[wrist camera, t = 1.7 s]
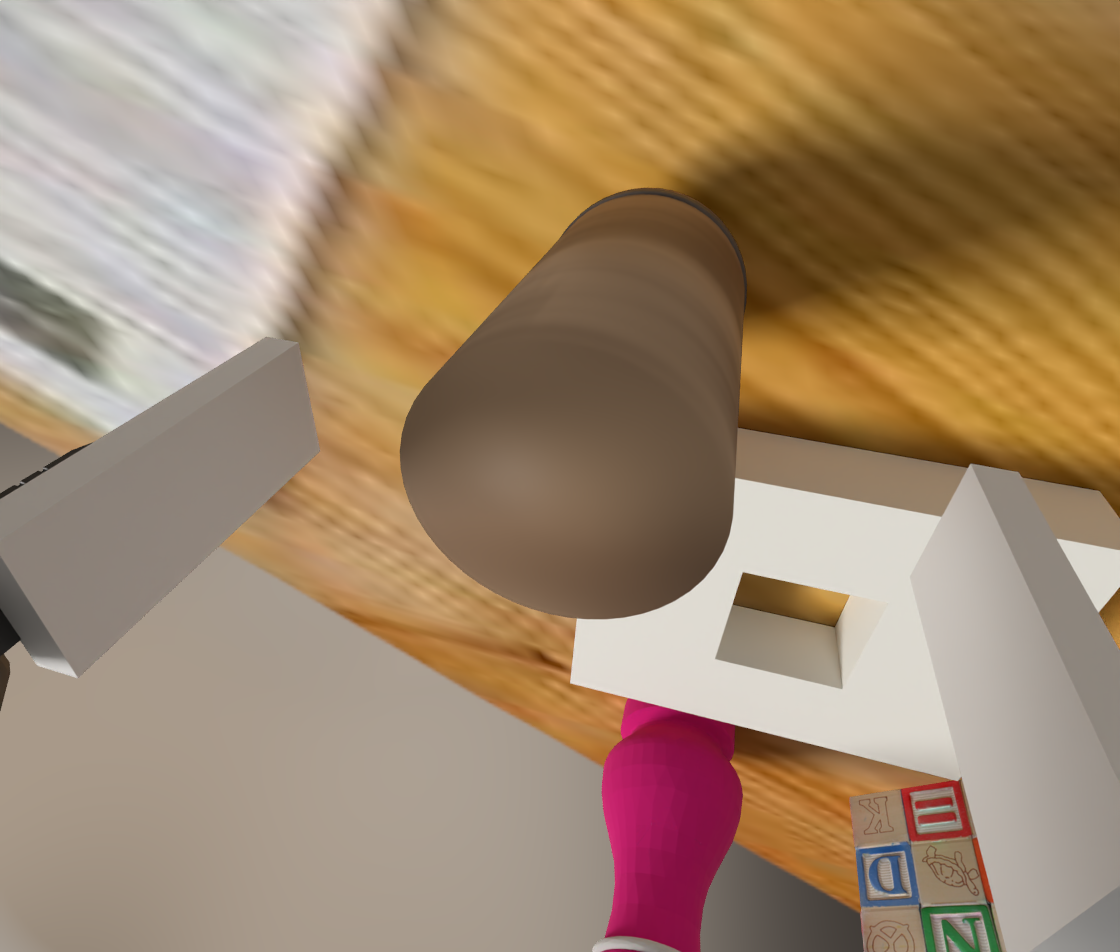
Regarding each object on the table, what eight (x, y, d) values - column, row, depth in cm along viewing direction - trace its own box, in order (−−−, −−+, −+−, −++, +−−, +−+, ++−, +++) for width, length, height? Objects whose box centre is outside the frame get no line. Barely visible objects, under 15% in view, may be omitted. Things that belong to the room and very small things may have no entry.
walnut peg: (579, 157, 21) (379, 309, 10) (768, 177, 20) (779, 373, 9) (567, 330, 24) (412, 583, 13) (727, 355, 23) (699, 650, 12)
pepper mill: (746, 684, 34) (735, 1270, 18) (741, 761, 38) (729, 1296, 22) (612, 667, 36) (496, 1181, 20) (622, 743, 40) (531, 1220, 24)
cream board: (612, 405, 26) (594, 451, 23) (1099, 490, 23) (1146, 555, 20) (585, 630, 34) (570, 683, 31) (940, 714, 31) (957, 781, 28)
